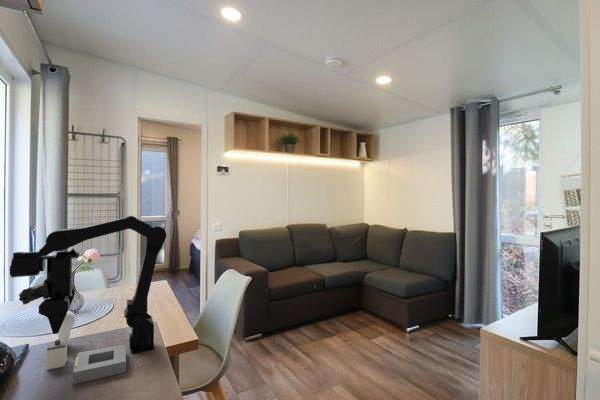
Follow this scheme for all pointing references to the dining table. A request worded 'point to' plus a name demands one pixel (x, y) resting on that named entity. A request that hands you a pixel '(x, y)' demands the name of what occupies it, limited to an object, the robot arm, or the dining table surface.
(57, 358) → the plug
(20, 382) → the dining table surface
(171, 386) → the dining table surface
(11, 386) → the dining table surface
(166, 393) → the dining table surface
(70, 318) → the lightbulb
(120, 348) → the socket
